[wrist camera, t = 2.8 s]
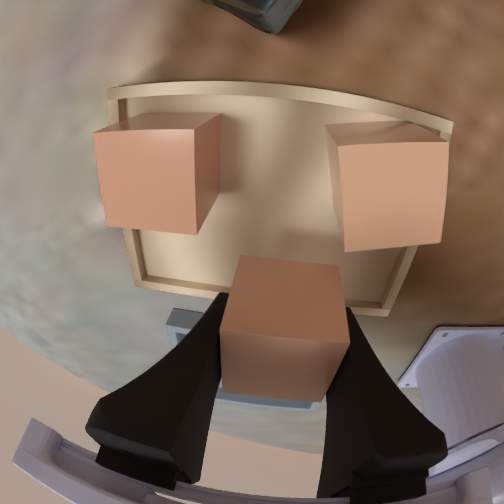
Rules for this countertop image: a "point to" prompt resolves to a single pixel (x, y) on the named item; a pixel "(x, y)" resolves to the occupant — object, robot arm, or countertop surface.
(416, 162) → the chunk
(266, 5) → the beverage carton
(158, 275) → the birch tray
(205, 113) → the chunk
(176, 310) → the slate dish
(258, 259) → the chunk
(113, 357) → the countertop surface
